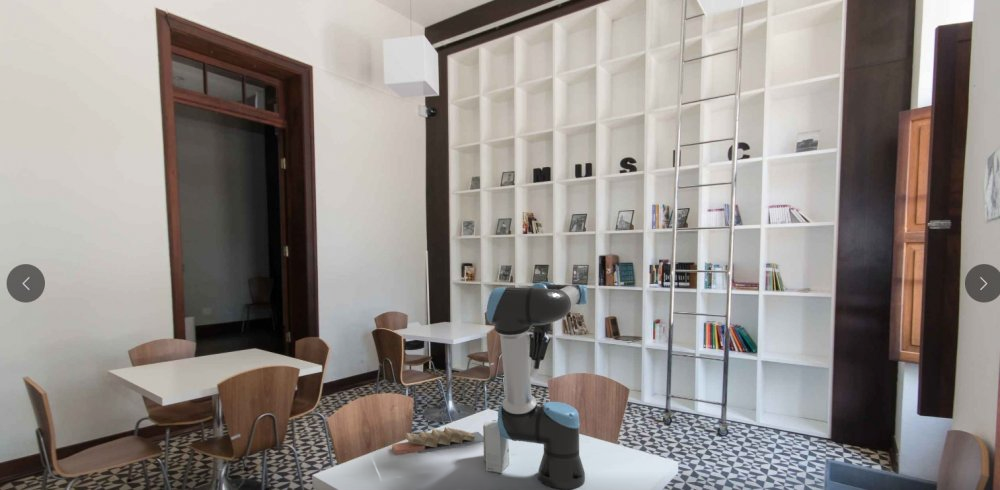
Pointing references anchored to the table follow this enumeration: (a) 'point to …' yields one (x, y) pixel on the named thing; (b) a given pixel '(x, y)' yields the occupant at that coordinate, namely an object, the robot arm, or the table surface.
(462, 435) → the domino
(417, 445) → the domino
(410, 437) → the domino
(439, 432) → the domino
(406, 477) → the table surface
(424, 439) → the domino
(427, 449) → the mat
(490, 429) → the skincare box
